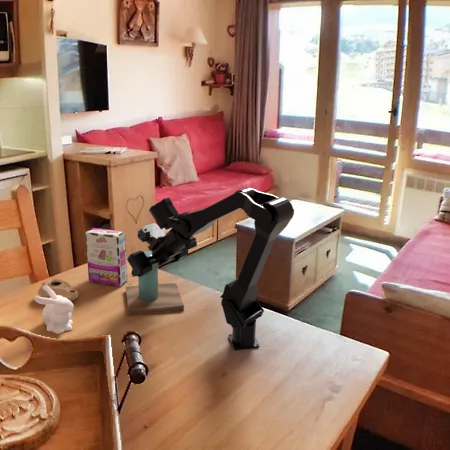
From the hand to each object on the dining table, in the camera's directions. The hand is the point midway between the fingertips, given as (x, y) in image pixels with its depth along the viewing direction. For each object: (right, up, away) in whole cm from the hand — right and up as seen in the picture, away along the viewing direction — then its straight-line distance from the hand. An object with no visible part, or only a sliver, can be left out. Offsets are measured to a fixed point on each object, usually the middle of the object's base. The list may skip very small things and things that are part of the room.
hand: (144, 269), depth 145 cm
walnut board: (+2, -9, +3) cm, 10 cm away
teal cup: (+1, -8, +2) cm, 8 cm away
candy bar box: (-14, -5, +15) cm, 21 cm away
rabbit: (-20, -14, -12) cm, 28 cm away
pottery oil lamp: (-25, -9, +2) cm, 26 cm away
